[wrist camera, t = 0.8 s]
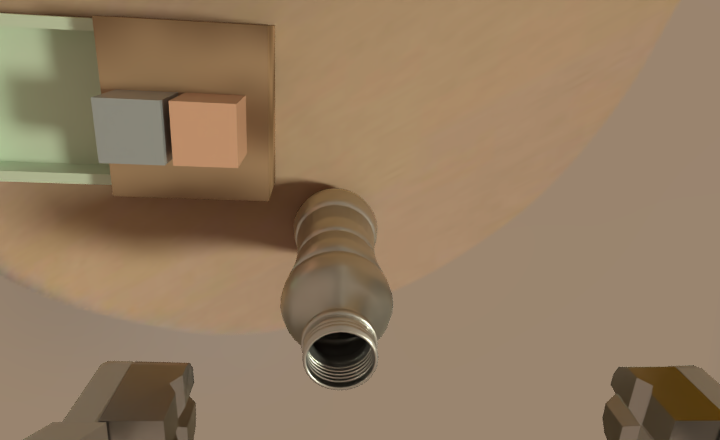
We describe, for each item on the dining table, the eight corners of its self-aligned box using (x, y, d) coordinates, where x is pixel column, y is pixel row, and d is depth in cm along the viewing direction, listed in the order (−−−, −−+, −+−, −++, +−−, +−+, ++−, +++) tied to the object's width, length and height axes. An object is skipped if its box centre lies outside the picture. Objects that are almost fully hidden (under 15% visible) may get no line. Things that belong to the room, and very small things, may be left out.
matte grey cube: (116, 89, 35) (90, 97, 31) (177, 92, 35) (159, 100, 31) (122, 148, 36) (98, 162, 32) (181, 150, 36) (165, 165, 33)
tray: (-40, 10, 37) (-70, 9, 34) (116, 19, 38) (100, 19, 35) (-8, 169, 41) (-33, 180, 38) (132, 174, 42) (118, 185, 39)
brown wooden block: (121, 16, 38) (91, 15, 33) (274, 25, 38) (267, 25, 34) (136, 176, 42) (113, 196, 37) (275, 181, 43) (268, 201, 38)
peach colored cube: (185, 92, 35) (168, 100, 31) (245, 95, 35) (236, 104, 32) (188, 151, 36) (173, 165, 33) (246, 153, 37) (237, 168, 33)
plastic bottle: (366, 257, 46) (395, 420, 27) (289, 246, 45) (263, 406, 26) (381, 188, 43) (423, 313, 25) (300, 175, 43) (280, 293, 24)
